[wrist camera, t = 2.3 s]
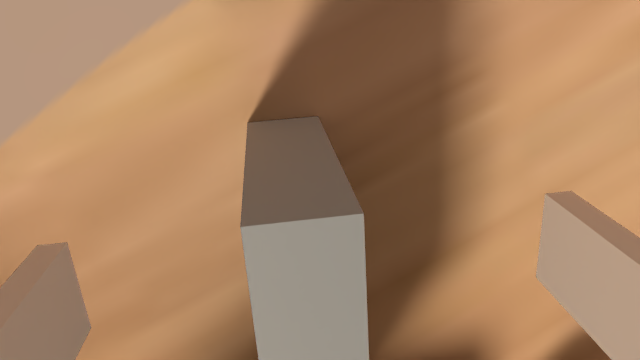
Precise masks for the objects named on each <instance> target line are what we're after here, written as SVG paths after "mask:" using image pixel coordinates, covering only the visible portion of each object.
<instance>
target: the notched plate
mask: <svg viewBox="0 0 640 360" xmlns="http://www.w3.org/2000/svg"><path fill="white" fill-rule="evenodd" d="M241 234H242V242H243V249H244V257H245V264H246V271H247V279H248V286H249V293H250V301H251V308H252V316H253V323H254V330H255V338H256V345H257V352H258V360H369V343H368V315H367V287H366V260H365V232H364V213H363V211H362V209H361V206H360V204H359V202H358V200H357V198H356V196H355V194H354V192H353V189H352V187H351V185H350V183H349V181H348V179H347V177H346V175H345V172H344V170H343V168H342V166H341V164H340V162H339V160H338V158H337V155H336V153H335V151H334V149H333V147H332V145H331V143H330V141H329V138H328V136H327V134H326V132H325V130H324V128H323V126H322V124H321V121H320V119H319V117H318V116H314V117H303V118H292V119H281V120H270V121H259V122H248V125H247V139H246V154H245V168H244V183H243V198H242V212H241Z"/></svg>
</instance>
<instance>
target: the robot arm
mask: <svg viewBox="0 0 640 360" xmlns="http://www.w3.org/2000/svg"><path fill="white" fill-rule="evenodd" d="M536 278H537V279H538V280H539V281H540V282H541V283H542V284H543V286H544V287H545V288H546V289H547V290H548V291H549V292H550V293H551V294H552V295H553V296H554V298H555V299H556V300H557V301H558V302H559V303H560V304H561V305H562V306H563V307H564V308H565V310H566V311H567V312H568V313H569V314H570V315H571V316H572V317H573V318H574V319H575V320H576V322H577V323H578V324H579V325H580V326H581V327H582V328H583V329H584V330H585V331H586V332H587V334H588V335H589V336H590V337H591V338H592V339H593V340H594V341H595V342H596V343H597V344H598V346H599V347H600V348H601V349H602V350H603V351H604V352H605V353H606V354H607V355H608V356H609V358H610V359H611V360H640V238H639V237H638V236H636V235H635V234H633V233H632V232H630V231H629V230H627V229H626V228H625V227H623V226H622V225H620V224H619V223H617V222H616V221H614V220H613V219H611V218H610V217H608V216H607V215H605V214H604V213H603V212H601V211H600V210H598V209H597V208H595V207H594V206H592V205H591V204H589V203H588V202H586V201H585V200H584V199H582V198H581V197H579V196H578V195H576V194H575V193H573V192H572V191H567V192H557V193H547V194H545V200H544V209H543V218H542V227H541V236H540V245H539V254H538V263H537V272H536ZM90 329H91V325H90V322H89V318H88V315H87V311H86V308H85V304H84V301H83V297H82V293H81V290H80V286H79V283H78V279H77V276H76V272H75V269H74V265H73V262H72V258H71V254H70V251H69V247H68V244H67V242H65V243H55V244H46V245H37V246H36V247H35V248H34V250H33V251H32V252H31V253H30V254H29V255H28V256H27V258H26V259H25V260H24V261H23V262H22V263H21V265H20V266H19V267H18V268H17V269H16V270H15V271H14V273H13V274H12V275H11V276H10V277H9V278H8V280H7V281H6V282H5V283H4V284H3V285H2V286H1V288H0V360H75V359H76V357H77V355H78V353H79V351H80V349H81V347H82V345H83V343H84V341H85V339H86V337H87V335H88V333H89V331H90Z"/></svg>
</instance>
